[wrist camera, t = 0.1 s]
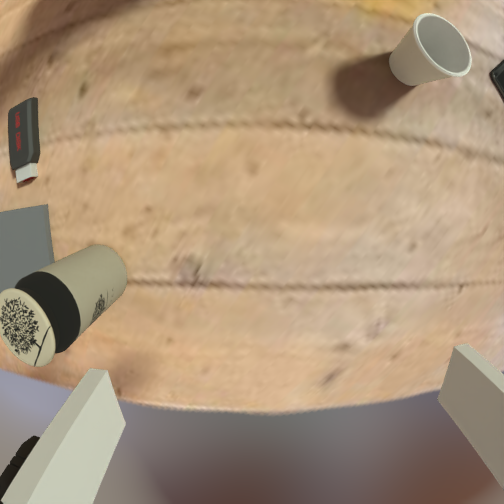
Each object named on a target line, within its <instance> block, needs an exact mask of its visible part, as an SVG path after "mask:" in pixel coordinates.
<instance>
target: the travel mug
mask: <svg viewBox="0 0 504 504" xmlns="http://www.w3.org/2000/svg"><path fill="white" fill-rule="evenodd" d="M126 285H127V272H126V268H125V265H124V263H123V261H122V259H121V258H120V256H119V255H118V254H117V253H116V252H115V251H114V250H112V249H111V248H109V247H107V246H104V245H92V246H89V247H87V248H85V249H82V250H80V251H78V252H76V253H74V254H71V255H69V256H67V257H65V258H63V259H61V260H58V261H56V262H54V263H52V264H50V265H48V266H46V267H44V268H42V269H40V270H37V271H35V272H33V273H31V274H29V275H27V276H25V277H23V278H22V279H20V280H19V281H18V282H17V284H16V285H15V288H9V289H6V290H4V291H2V292H1V293H0V335H1V337H2V339H3V341H4V342H5V344H6V345H7V347H8V348H9V349H10V351H11V352H12V353H13V354H14V355H15V356H16V357H17V358H19V359H20V360H21V361H23V362H24V363H26V364H28V365H31V366H35V367H42V366H45V365H47V364H49V363H50V362H51V360H52V359H53V357H54V354H55V353H60V352H63V351H65V350H66V349H67V348H68V347H69V346H70V345H71V344H72V343H73V342H74V341H75V340H76V339H77V338H78V337H79V336H80V335H81V334H82V333H83V332H84V331H85V330H86V329H87V328H88V327H89V326H90V325H91V324H92V323H93V322H94V321H95V320H96V319H97V318H98V317H99V316H100V315H101V314H102V313H103V312H104V311H105V310H107V309H108V308H109V307H110V306H111V305H112V304H113V303H114V302H115V301H116V300H117V299H118V298H119V297H120V296H121V295H122V294H123V292H124V290H125V288H126Z"/></svg>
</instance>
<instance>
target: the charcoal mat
mask: <svg viewBox="0 0 504 504" xmlns="http://www.w3.org/2000/svg"><path fill="white" fill-rule="evenodd" d="M54 262H55V261H54V255H53V248H52V240H51V232H50V223H49V213H48V204H47V205H40V206H34V207H28V208H22V209H16V210H10V211H4V212H0V293H1V292H2V291H4V290H6V289H9V288H15V285H16V284H17V282H18V281H19V280H20V279H22V278H23V277H25V276H27V275H29V274H31V273H33V272H35V271H37V270H40V269H42V268H44V267H46V266H48V265H50V264H52V263H54Z"/></svg>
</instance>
